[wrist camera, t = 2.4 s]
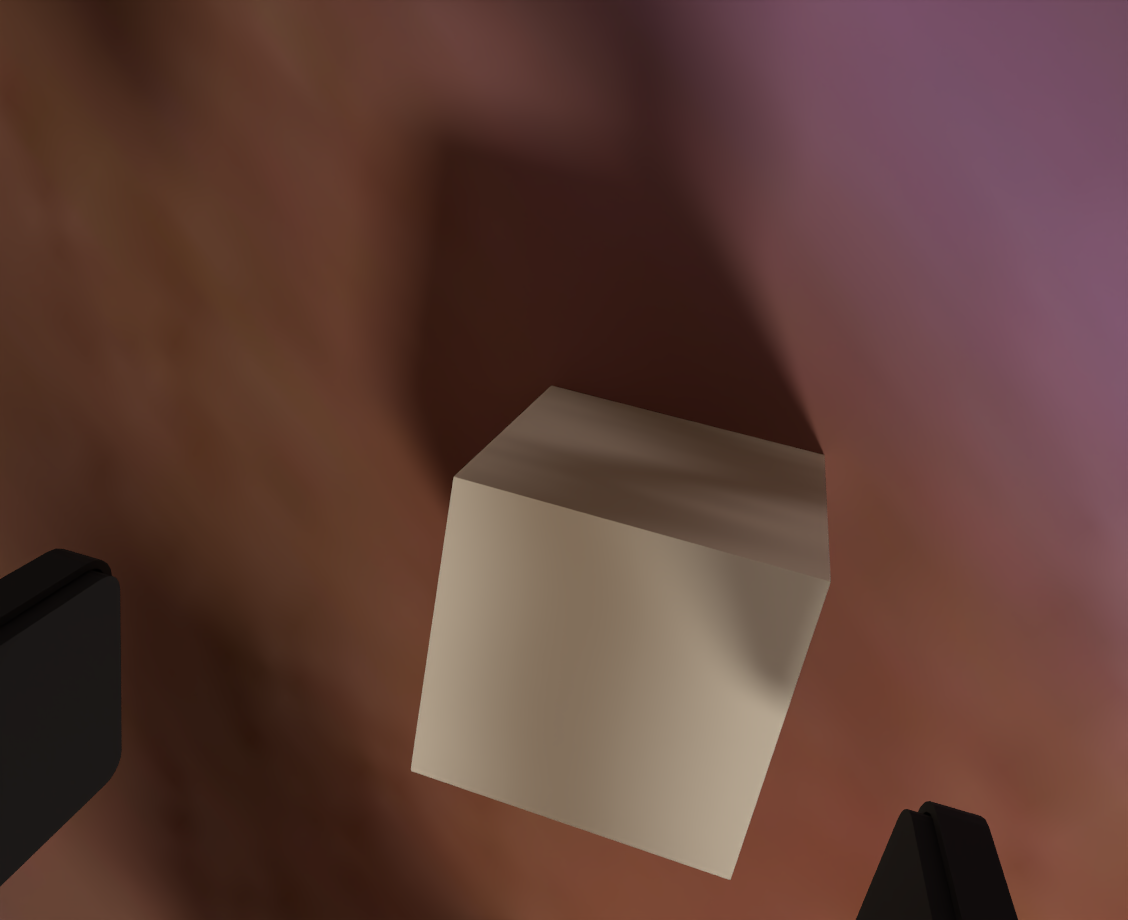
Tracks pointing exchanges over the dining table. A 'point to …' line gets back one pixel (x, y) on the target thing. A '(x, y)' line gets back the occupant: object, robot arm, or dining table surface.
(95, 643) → the robot arm
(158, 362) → the dining table surface
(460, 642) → the maple cube
